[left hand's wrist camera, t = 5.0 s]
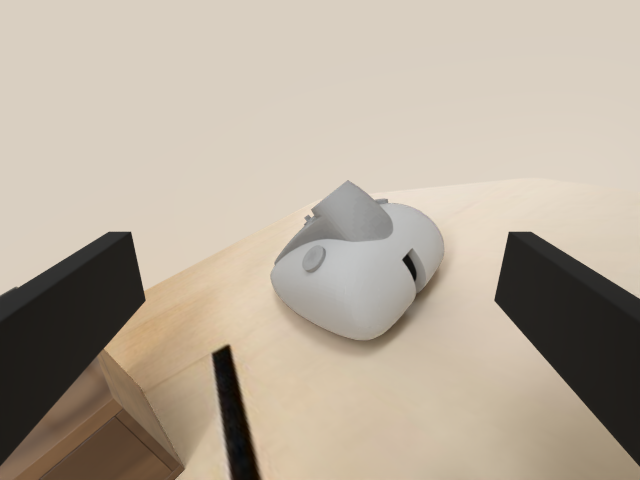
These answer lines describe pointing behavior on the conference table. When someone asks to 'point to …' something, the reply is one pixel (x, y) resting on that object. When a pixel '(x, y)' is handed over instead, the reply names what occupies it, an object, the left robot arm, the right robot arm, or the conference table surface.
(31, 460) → the lid
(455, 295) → the conference table surface
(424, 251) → the projector
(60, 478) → the chest
